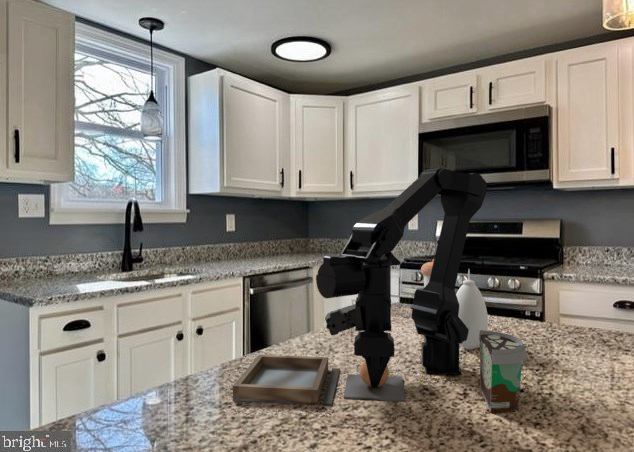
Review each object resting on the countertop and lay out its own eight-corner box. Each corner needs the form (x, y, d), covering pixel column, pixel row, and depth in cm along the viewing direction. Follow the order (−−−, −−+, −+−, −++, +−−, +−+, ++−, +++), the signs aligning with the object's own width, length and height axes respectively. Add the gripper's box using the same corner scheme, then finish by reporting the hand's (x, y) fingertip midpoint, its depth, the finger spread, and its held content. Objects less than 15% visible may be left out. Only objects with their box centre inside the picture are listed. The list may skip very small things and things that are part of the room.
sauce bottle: (476, 356, 93) (476, 272, 92) (443, 348, 99) (443, 268, 98) (493, 348, 98) (494, 268, 97) (462, 341, 104) (462, 266, 103)
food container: (536, 420, 64) (537, 353, 64) (492, 417, 65) (492, 350, 65) (516, 387, 76) (516, 330, 76) (478, 385, 77) (479, 329, 77)
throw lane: (400, 372, 84) (400, 360, 84) (406, 409, 68) (406, 394, 68) (258, 366, 87) (258, 354, 87) (232, 400, 72) (232, 385, 71)
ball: (388, 381, 78) (388, 353, 78) (389, 392, 74) (389, 363, 73) (360, 380, 79) (360, 352, 79) (359, 391, 74) (359, 361, 74)
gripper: (333, 283, 86) (333, 361, 87) (321, 301, 68) (322, 401, 68) (390, 283, 85) (390, 363, 85) (394, 303, 66) (394, 404, 67)
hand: (374, 380), depth 76 cm, fingers closed on ball, 5 cm apart
